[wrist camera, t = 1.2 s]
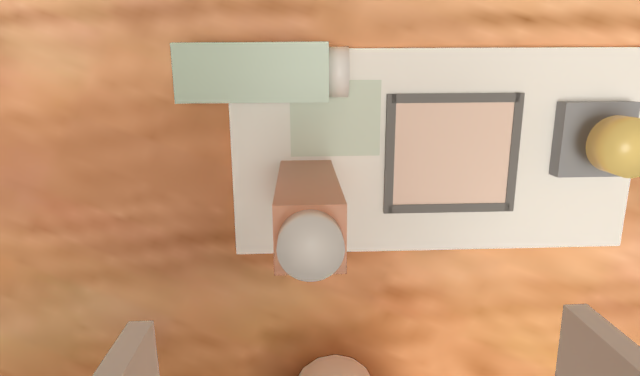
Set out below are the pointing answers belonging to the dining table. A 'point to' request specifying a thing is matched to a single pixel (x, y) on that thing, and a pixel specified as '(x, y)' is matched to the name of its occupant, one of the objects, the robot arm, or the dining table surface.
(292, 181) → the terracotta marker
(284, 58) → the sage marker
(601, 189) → the white flat panel
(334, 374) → the foam cup
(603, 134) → the button
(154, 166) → the dining table surface
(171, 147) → the dining table surface
